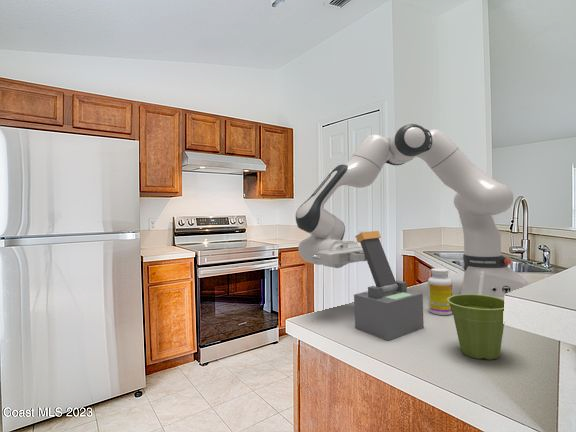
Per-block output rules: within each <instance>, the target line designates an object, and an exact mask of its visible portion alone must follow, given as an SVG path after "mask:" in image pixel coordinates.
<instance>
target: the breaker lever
mask: <svg viewBox="0 0 576 432" xmlns="http://www.w3.org/2000/svg"><path fill="white" fill-rule="evenodd" d="M355 238H356V242H357V244H361V246H362V249H363V251H364V254H365V257H366V260H367V261H366V262H367V265H368V267H369V270H370V273H371V275H372V279H373V281H374V284H375V286H376V287H380V288H382V294H384V293H388V292H392V291H396V290H398V285H397V284H396V281H397V280H396V279H395V276H394V273H393V270H392V268H391V266H390V263H389V261H388V258H387V256H386V253H385V251H384V248H383V245H382V243H381V240H380V239H381V234H380V231H379V230H374V231H372V230H371V231H362V232H359V233H358V234H356V235H355Z"/></svg>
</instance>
